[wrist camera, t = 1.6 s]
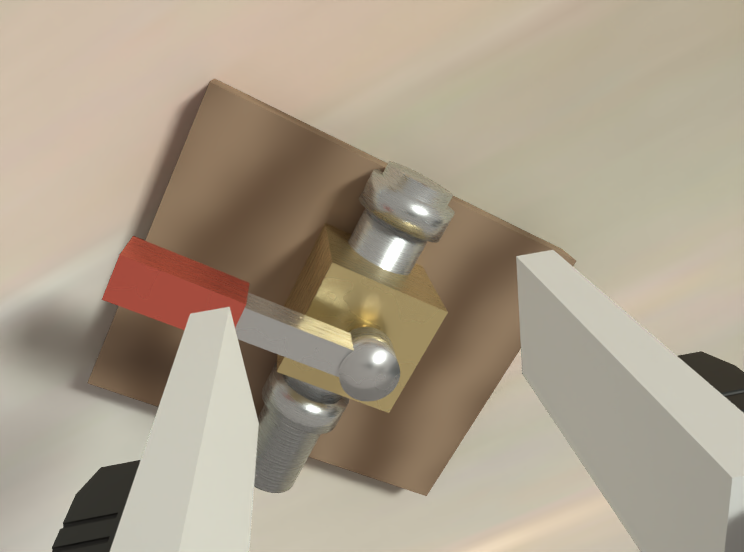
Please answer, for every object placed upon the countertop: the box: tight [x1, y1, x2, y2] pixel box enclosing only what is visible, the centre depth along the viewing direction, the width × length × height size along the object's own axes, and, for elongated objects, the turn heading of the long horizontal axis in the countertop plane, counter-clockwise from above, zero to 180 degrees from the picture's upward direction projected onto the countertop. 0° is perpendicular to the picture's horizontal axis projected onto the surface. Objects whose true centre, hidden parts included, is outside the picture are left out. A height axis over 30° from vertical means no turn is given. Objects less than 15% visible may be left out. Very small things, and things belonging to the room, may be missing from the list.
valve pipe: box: [254, 162, 455, 493], centre depth 33 cm, size 6×19×7 cm, turn 153°
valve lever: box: [102, 236, 400, 402], centre depth 26 cm, size 12×3×2 cm, turn 63°
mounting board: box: [88, 79, 576, 496], centre depth 36 cm, size 22×18×2 cm
